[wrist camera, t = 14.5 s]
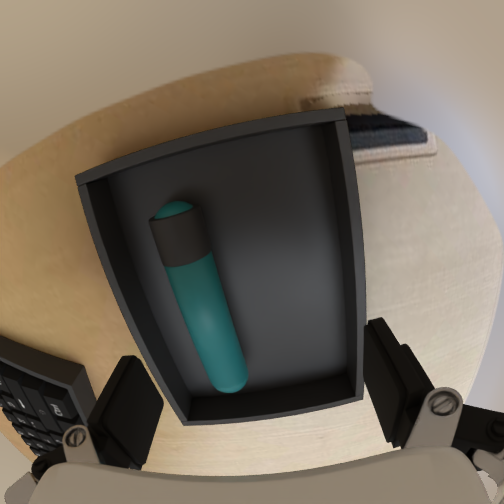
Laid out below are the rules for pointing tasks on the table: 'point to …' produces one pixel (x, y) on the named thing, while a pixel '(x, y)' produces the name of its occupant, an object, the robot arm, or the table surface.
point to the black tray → (245, 261)
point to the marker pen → (199, 292)
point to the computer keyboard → (42, 395)
